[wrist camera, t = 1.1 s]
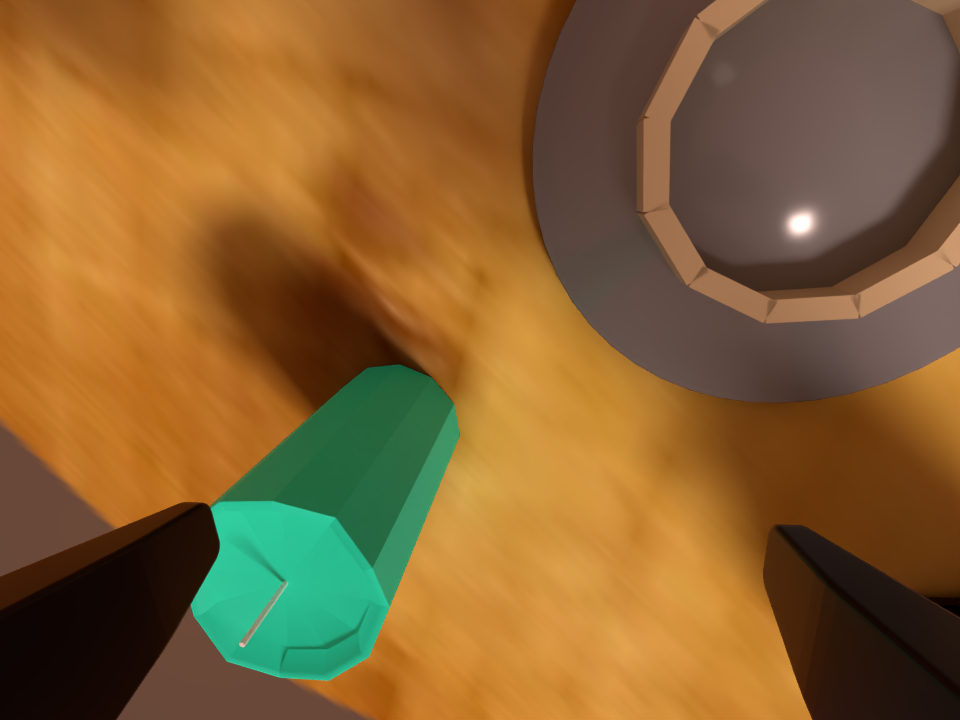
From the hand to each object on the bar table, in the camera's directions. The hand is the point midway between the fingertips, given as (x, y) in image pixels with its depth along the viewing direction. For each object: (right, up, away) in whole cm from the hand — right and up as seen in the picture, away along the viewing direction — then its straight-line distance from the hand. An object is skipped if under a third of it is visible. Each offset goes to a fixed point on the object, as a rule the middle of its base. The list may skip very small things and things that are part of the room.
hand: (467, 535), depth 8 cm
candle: (-4, 0, +15) cm, 16 cm away
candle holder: (+11, +10, +9) cm, 18 cm away
